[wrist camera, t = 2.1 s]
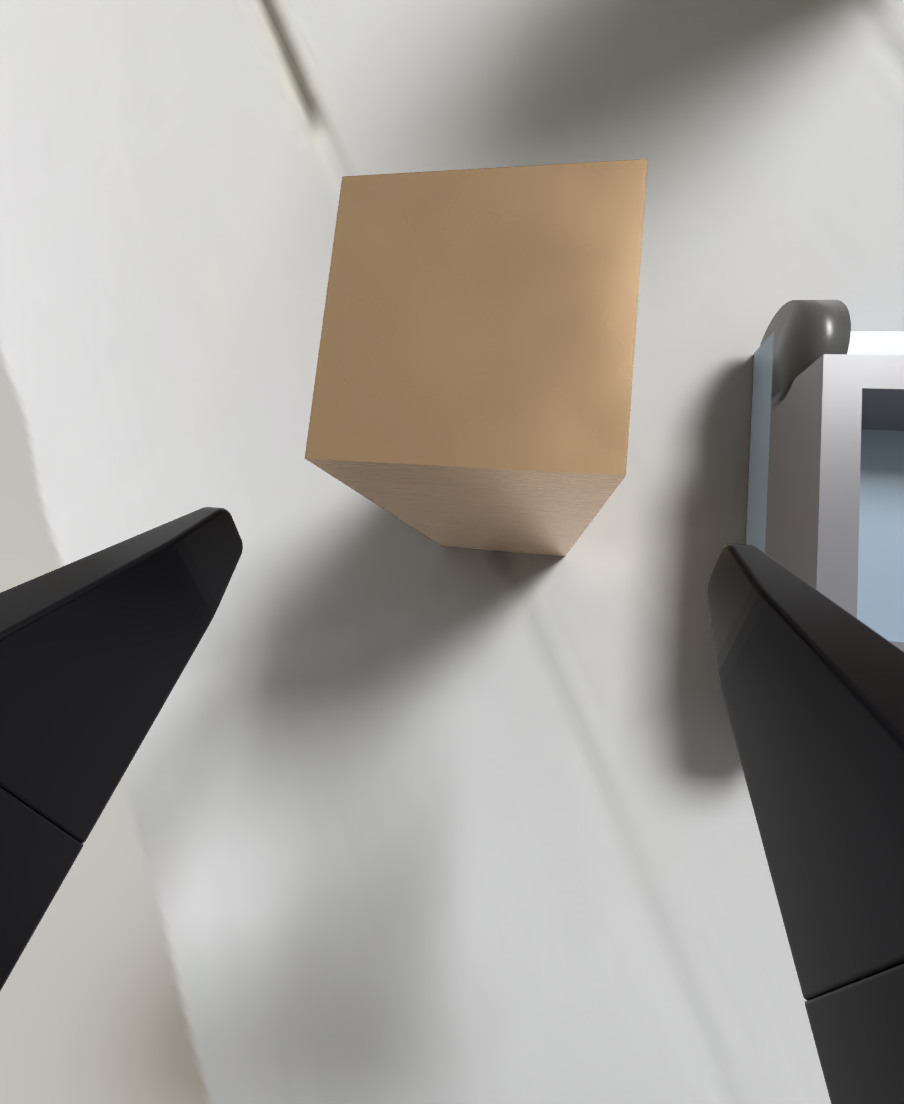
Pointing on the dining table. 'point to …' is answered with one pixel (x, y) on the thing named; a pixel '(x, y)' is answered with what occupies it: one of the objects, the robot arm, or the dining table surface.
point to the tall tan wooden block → (482, 348)
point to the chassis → (831, 459)
